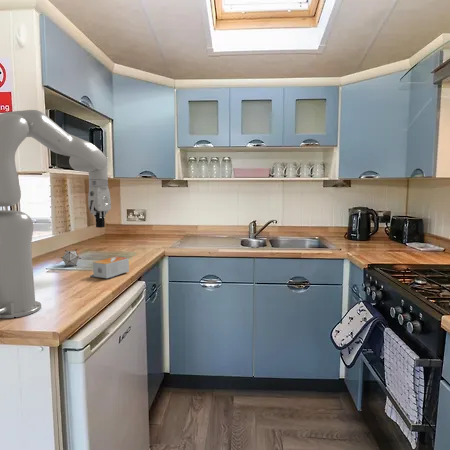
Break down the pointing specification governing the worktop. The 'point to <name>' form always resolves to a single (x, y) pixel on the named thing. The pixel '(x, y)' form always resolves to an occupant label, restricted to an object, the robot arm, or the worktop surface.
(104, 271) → the small box
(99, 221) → the robot arm
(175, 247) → the worktop surface
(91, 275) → the rubber mat
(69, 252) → the game die
